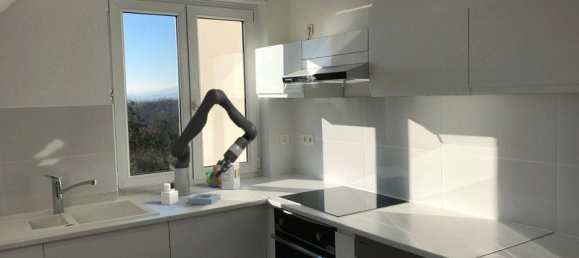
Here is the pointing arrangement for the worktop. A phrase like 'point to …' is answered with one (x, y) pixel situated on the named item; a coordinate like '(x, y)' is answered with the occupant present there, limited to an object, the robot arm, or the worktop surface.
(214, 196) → the socket block
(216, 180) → the walnut peg
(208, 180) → the snack cup
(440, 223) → the worktop surface
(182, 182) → the robot arm
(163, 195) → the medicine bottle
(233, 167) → the supplement box
